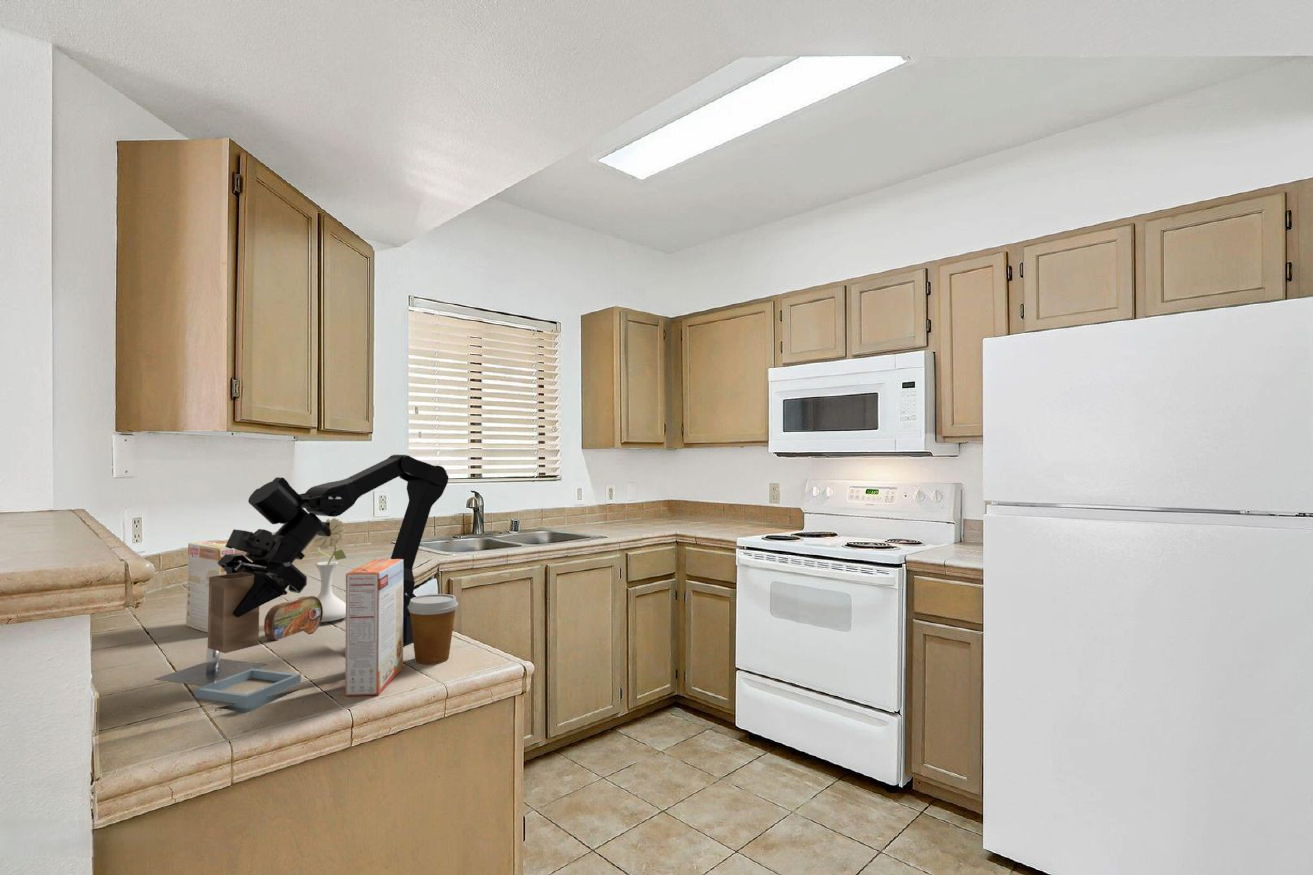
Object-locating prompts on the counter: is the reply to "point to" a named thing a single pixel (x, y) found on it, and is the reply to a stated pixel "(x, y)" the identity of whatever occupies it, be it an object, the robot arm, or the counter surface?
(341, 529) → the flower in vase
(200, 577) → the coffeecake box
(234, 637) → the walnut collar
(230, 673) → the plate
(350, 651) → the cracker box
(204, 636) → the counter surface
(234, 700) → the slate tray
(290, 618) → the tin
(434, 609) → the disposable coffee cup
